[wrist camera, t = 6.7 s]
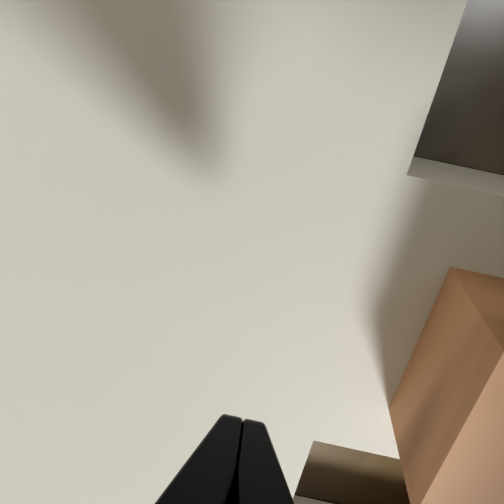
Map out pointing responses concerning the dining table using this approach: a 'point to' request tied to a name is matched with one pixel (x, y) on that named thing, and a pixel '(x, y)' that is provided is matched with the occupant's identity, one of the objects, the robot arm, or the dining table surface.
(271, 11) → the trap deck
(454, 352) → the block
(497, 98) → the dining table surface
